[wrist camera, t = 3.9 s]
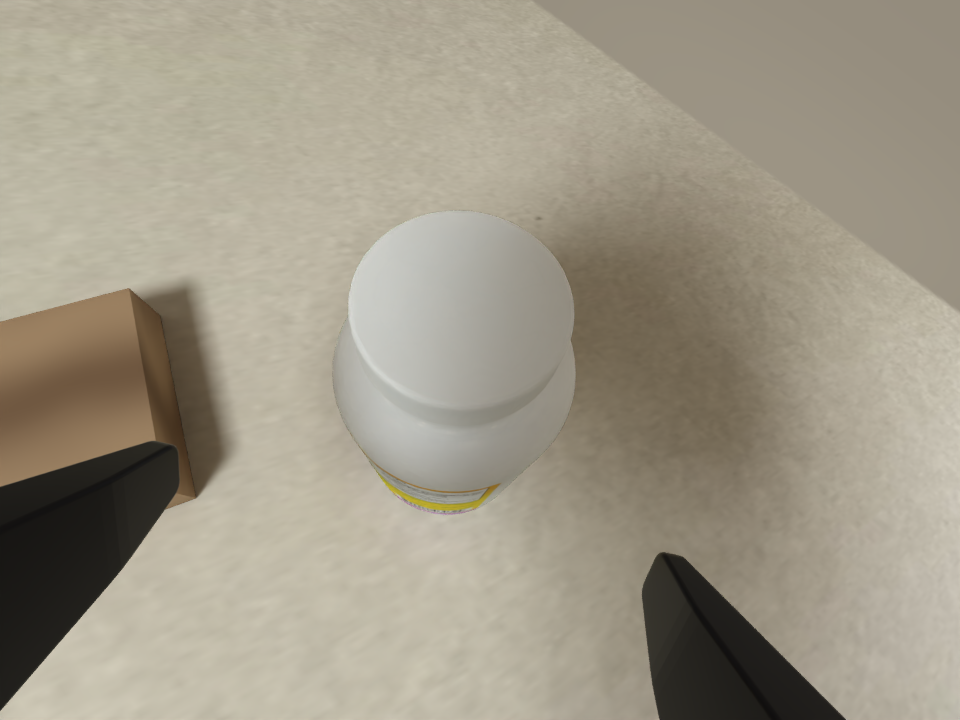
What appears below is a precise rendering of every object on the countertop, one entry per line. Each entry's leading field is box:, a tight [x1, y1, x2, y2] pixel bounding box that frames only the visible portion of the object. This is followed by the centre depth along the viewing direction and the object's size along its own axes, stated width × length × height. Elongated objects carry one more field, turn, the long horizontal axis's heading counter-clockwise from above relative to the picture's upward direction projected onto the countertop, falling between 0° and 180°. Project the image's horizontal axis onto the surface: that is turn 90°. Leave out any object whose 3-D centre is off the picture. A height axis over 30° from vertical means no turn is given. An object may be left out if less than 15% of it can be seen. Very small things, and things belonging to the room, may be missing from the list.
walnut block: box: [0, 288, 196, 509], centre depth 19 cm, size 9×9×2 cm
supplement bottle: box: [332, 210, 576, 515], centre depth 15 cm, size 7×7×13 cm
